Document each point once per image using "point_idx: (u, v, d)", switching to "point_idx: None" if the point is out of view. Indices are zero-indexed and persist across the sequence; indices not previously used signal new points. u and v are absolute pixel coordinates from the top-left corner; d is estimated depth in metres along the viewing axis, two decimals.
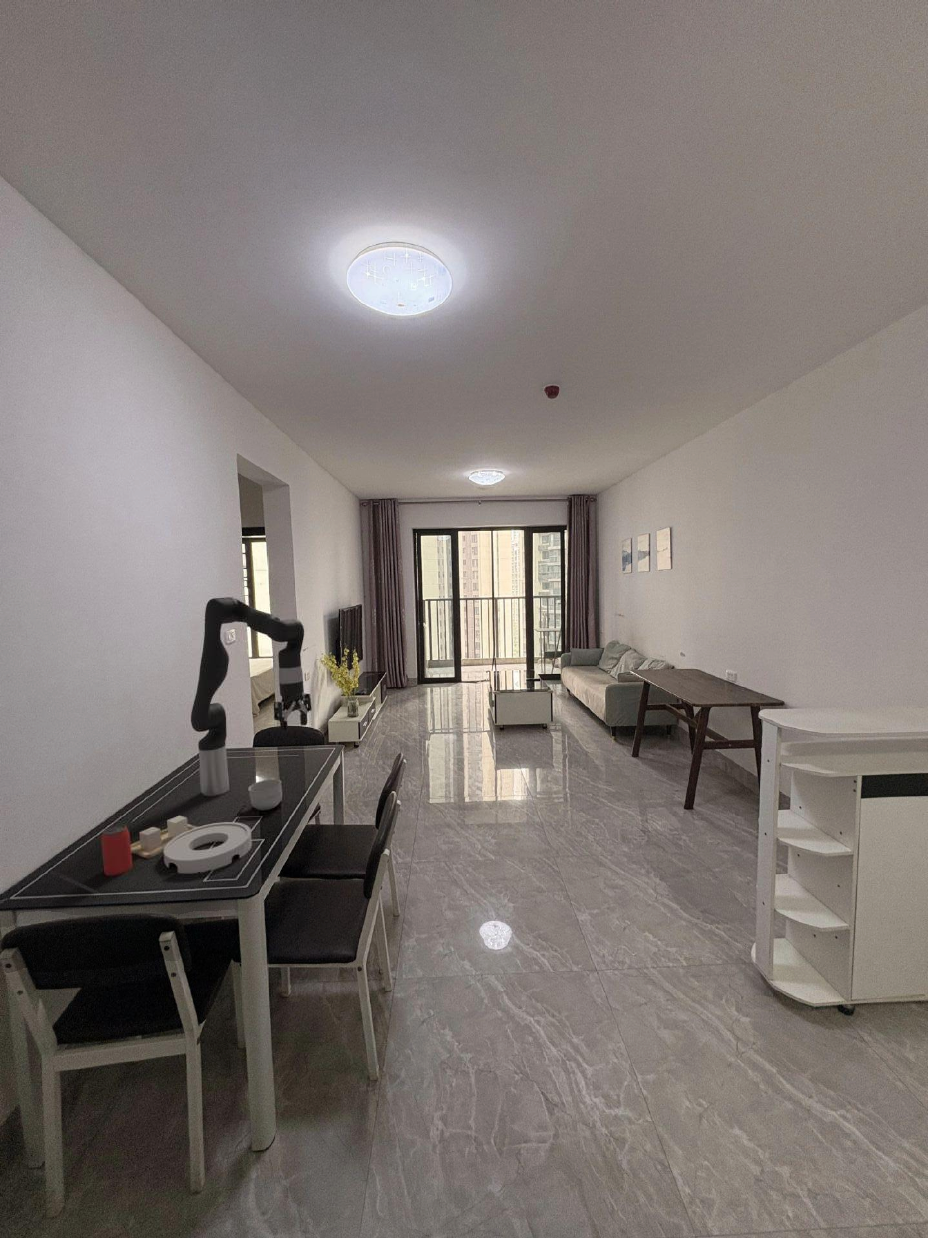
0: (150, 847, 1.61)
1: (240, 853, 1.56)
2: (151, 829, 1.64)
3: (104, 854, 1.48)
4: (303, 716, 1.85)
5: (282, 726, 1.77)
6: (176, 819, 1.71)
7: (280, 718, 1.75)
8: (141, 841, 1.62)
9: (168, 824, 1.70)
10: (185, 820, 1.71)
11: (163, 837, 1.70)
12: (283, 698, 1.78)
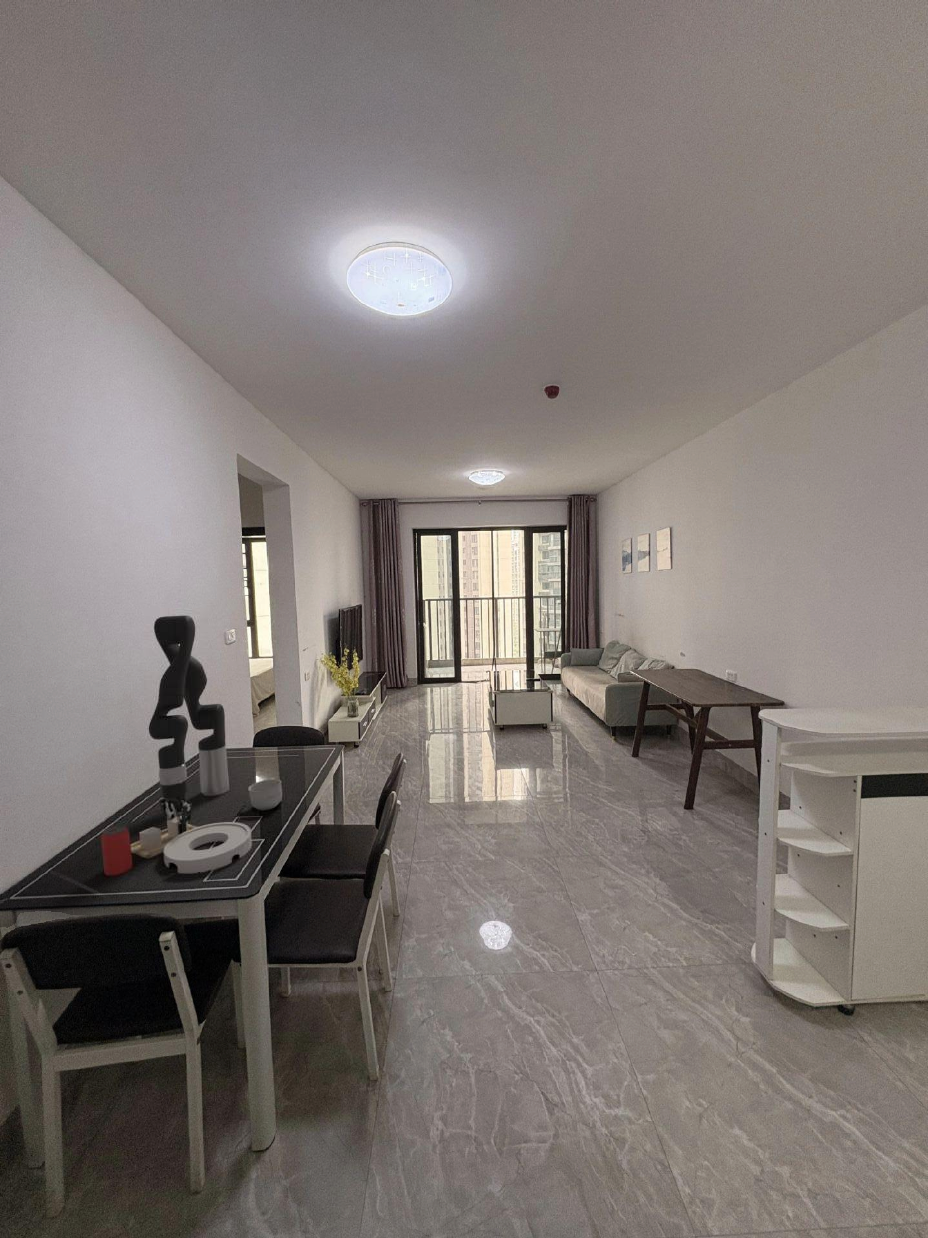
0: (150, 847, 1.61)
1: (240, 853, 1.56)
2: (151, 829, 1.64)
3: (104, 854, 1.48)
4: None
5: (185, 828, 1.69)
6: (176, 819, 1.71)
7: None
8: (141, 841, 1.62)
9: (168, 824, 1.70)
10: None
11: (163, 837, 1.70)
12: (182, 797, 1.68)
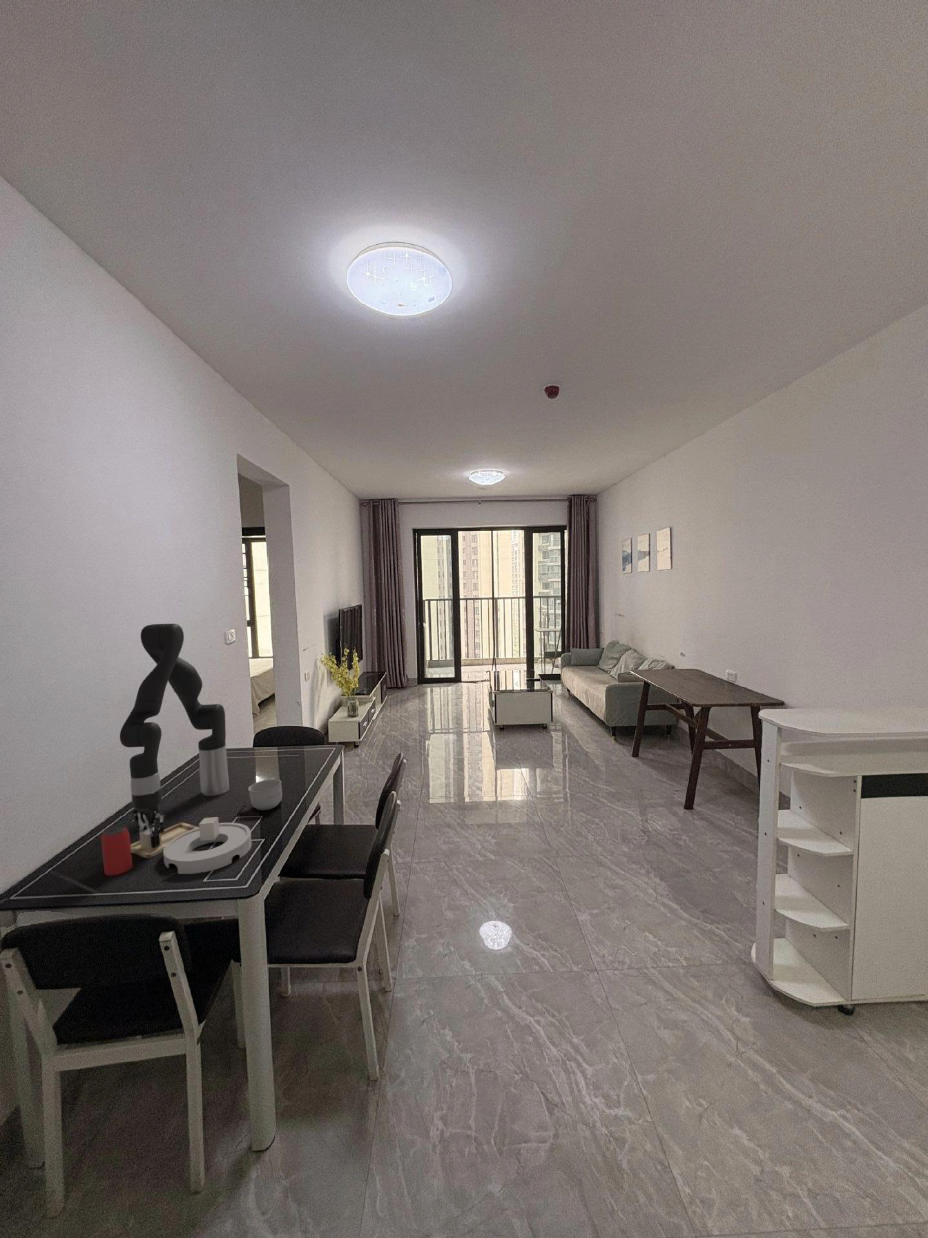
0: (150, 847, 1.61)
1: (240, 853, 1.56)
2: None
3: (104, 854, 1.48)
4: None
5: (158, 840, 1.62)
6: (207, 820, 1.62)
7: None
8: (141, 841, 1.62)
9: (201, 827, 1.60)
10: (217, 819, 1.63)
11: (163, 837, 1.70)
12: (155, 808, 1.61)
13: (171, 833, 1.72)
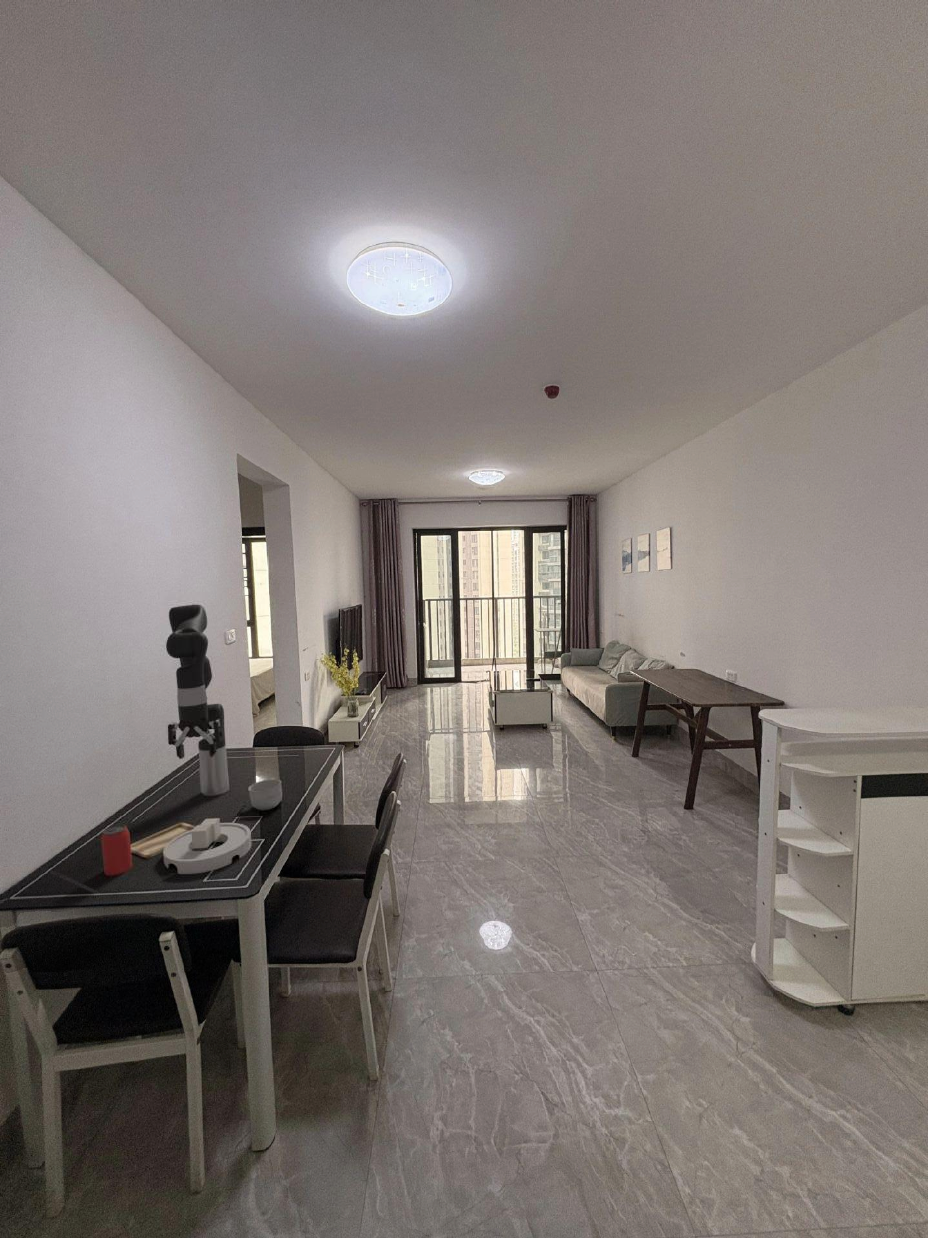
0: (207, 843, 1.56)
1: (240, 854, 1.56)
2: (200, 826, 1.58)
3: (104, 854, 1.48)
4: (182, 747, 1.59)
5: (215, 748, 1.60)
6: (208, 821, 1.61)
7: None
8: (194, 840, 1.55)
9: None
10: (218, 820, 1.63)
11: (163, 837, 1.70)
12: (207, 719, 1.58)
13: (171, 833, 1.72)
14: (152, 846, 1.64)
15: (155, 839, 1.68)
